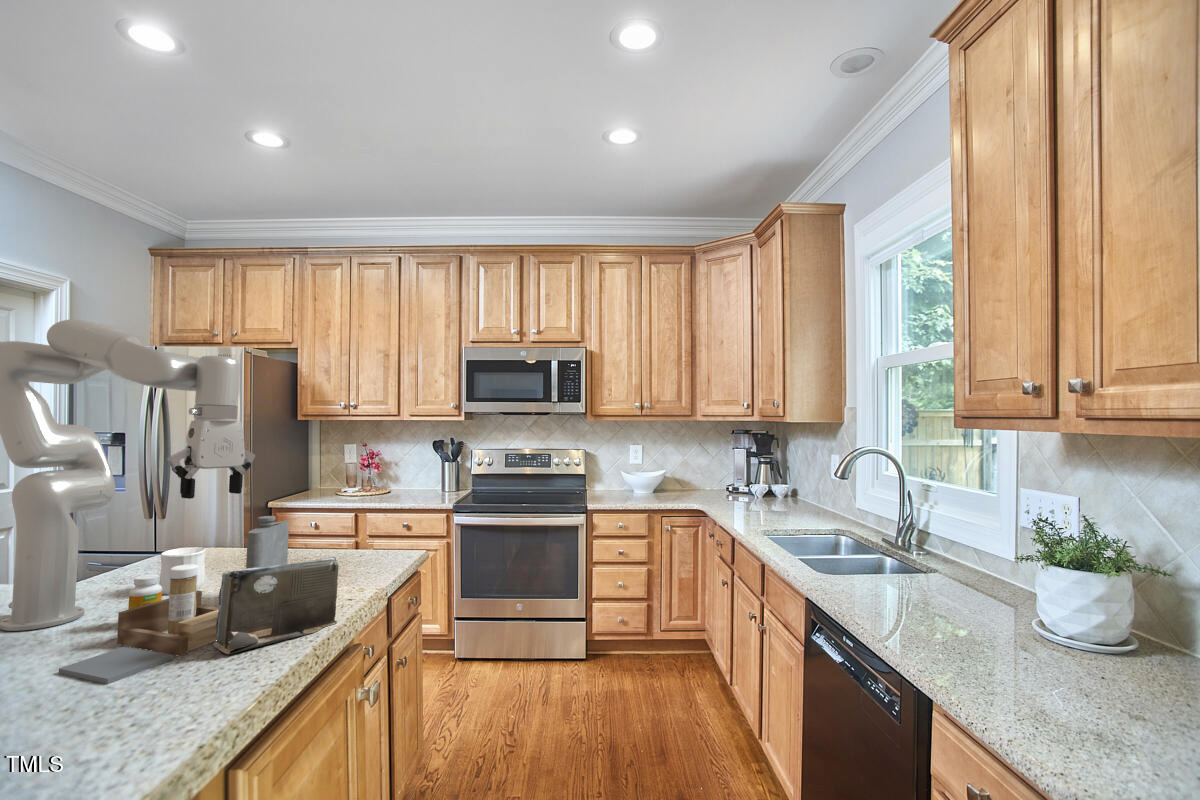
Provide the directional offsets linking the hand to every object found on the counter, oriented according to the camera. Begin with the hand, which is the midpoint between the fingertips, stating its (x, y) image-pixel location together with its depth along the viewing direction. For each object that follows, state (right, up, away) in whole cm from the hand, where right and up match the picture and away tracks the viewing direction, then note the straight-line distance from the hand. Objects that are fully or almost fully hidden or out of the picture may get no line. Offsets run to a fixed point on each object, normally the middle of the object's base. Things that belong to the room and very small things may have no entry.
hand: (212, 495), depth 116 cm
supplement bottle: (-14, -27, 0) cm, 31 cm away
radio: (+17, -27, -6) cm, 33 cm away
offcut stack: (+5, -27, -9) cm, 28 cm away
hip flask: (+1, -28, +16) cm, 32 cm away
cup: (-24, -28, +24) cm, 44 cm away
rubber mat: (-2, -26, -21) cm, 33 cm away
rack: (0, -27, -7) cm, 28 cm away
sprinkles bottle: (-2, -27, -6) cm, 28 cm away
